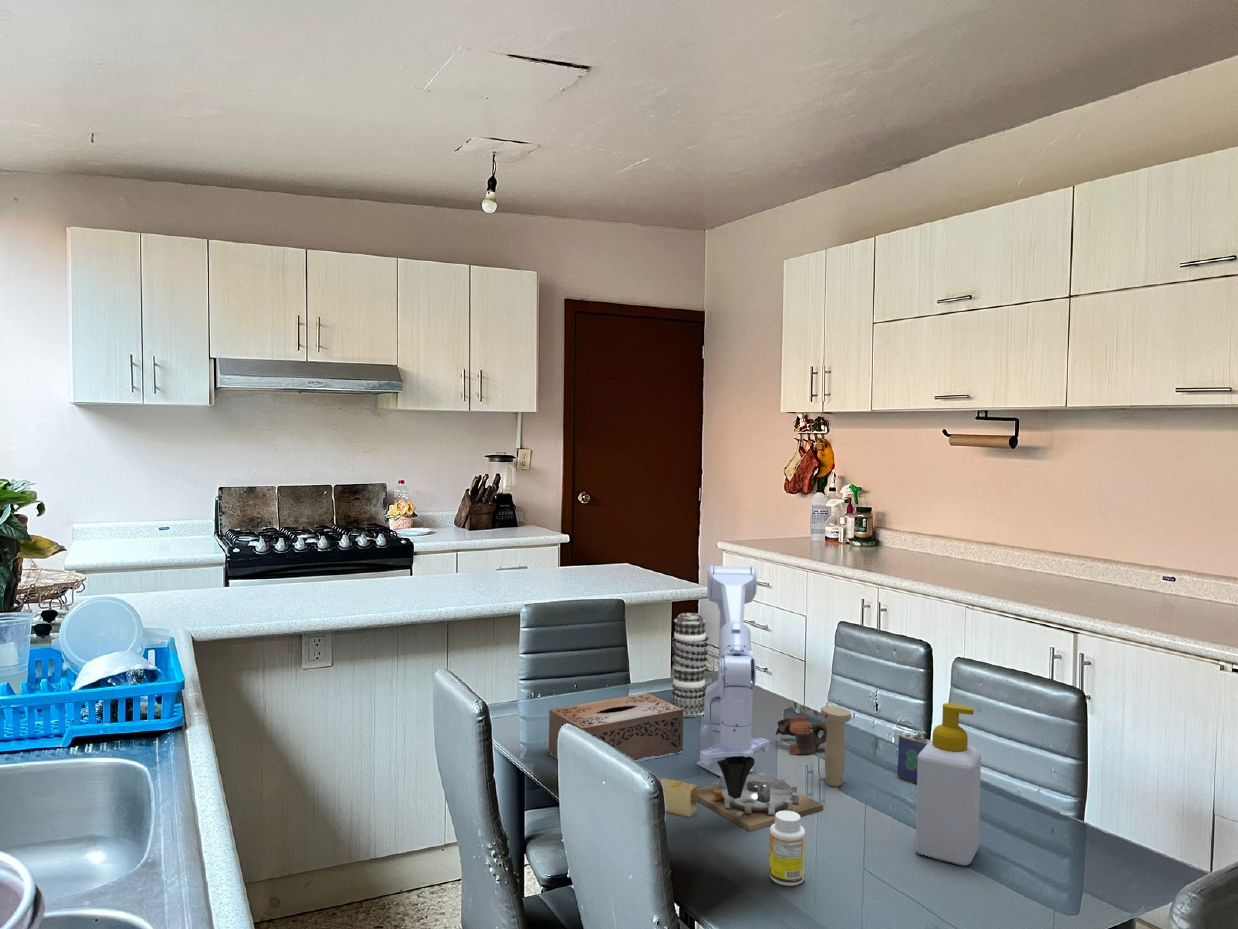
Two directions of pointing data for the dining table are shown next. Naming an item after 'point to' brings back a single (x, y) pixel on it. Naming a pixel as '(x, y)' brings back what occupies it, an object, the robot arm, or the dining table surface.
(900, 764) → the flask
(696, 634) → the decorative candle
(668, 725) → the tissue box cover
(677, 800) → the yellow block
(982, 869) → the dining table surface
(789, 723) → the pottery mug
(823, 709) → the handle
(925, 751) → the soap bottle
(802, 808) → the sprocket base
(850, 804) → the dining table surface
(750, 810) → the sprocket
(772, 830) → the supplement bottle
